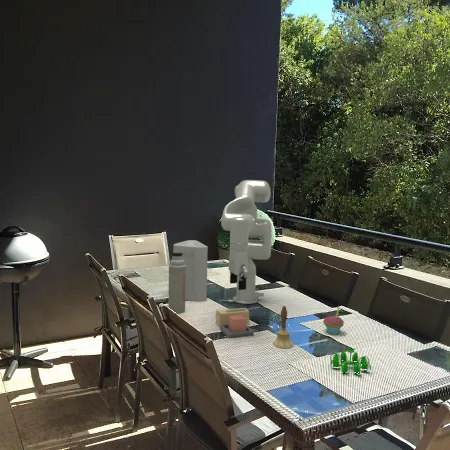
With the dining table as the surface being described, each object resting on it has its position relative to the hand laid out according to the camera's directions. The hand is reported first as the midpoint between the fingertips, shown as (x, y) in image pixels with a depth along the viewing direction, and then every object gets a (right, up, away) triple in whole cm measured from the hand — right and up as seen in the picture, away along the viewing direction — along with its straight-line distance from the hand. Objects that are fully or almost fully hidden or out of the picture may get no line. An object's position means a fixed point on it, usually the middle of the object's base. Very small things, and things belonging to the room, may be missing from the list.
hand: (237, 286), depth 212 cm
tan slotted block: (-2, -18, +13) cm, 22 cm away
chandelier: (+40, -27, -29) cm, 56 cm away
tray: (-1, -20, +3) cm, 20 cm away
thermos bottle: (-28, -15, +28) cm, 43 cm away
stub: (0, -19, +3) cm, 20 cm away
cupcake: (+41, -21, +6) cm, 46 cm away
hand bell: (+18, -23, -9) cm, 30 cm away
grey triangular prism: (-25, -12, +51) cm, 58 cm away
